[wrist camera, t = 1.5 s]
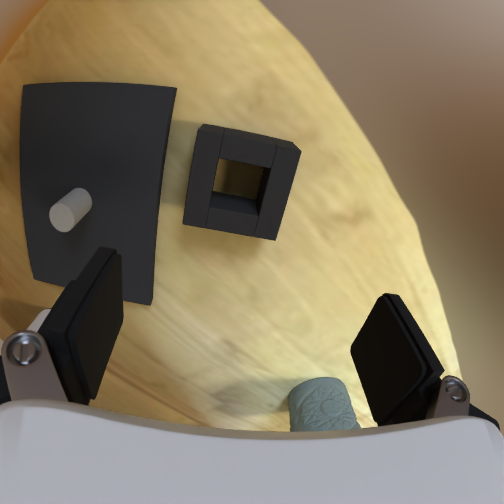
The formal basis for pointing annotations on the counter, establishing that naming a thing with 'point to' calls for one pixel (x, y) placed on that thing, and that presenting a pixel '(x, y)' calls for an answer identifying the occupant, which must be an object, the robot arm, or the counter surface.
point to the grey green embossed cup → (321, 406)
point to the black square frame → (231, 206)
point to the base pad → (93, 177)
